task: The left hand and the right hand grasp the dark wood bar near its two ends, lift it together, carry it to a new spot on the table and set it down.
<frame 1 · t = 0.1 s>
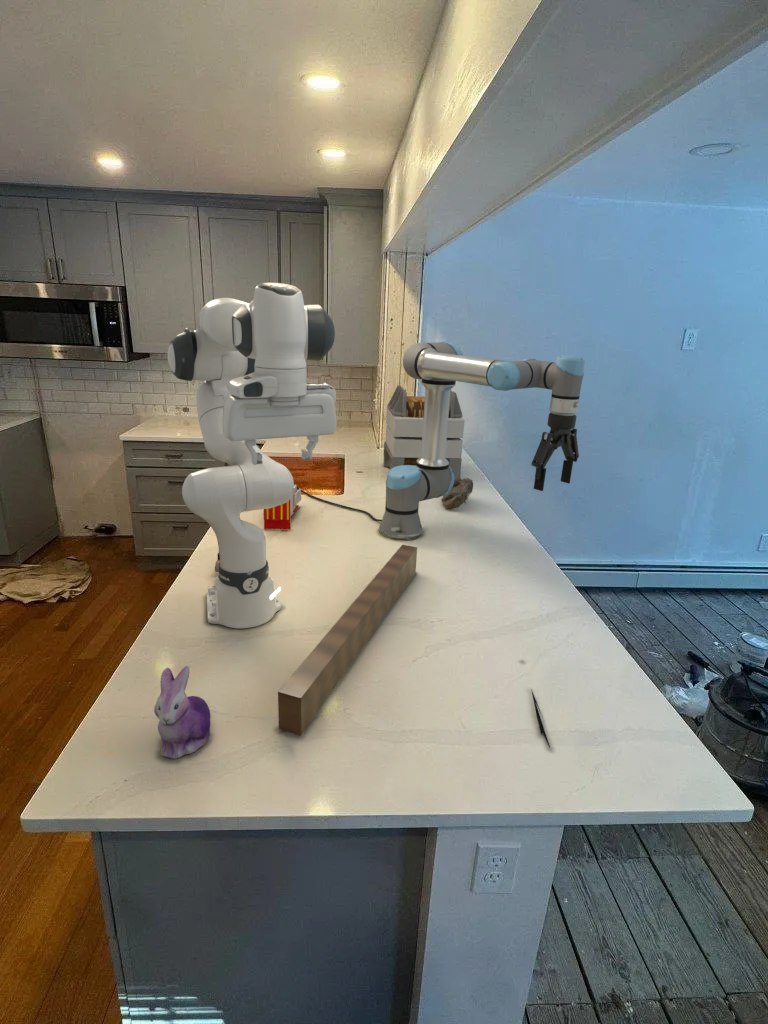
left hand: (282, 461, 103), 48 cm above the counter, tool pointing down, fingers open, 8 cm apart
right hand: (552, 486, 166), 28 cm above the counter, tool pointing down, fingers open, 13 cm apart
figurine: (186, 742, 102), on the counter
fossil: (455, 503, 235), on the counter
figurine character: (232, 569, 168), on the counter
bar: (363, 632, 138), on the counter
feather: (533, 701, 117), on the counter
transformer: (419, 473, 275), on the counter
toy: (282, 516, 211), on the counter
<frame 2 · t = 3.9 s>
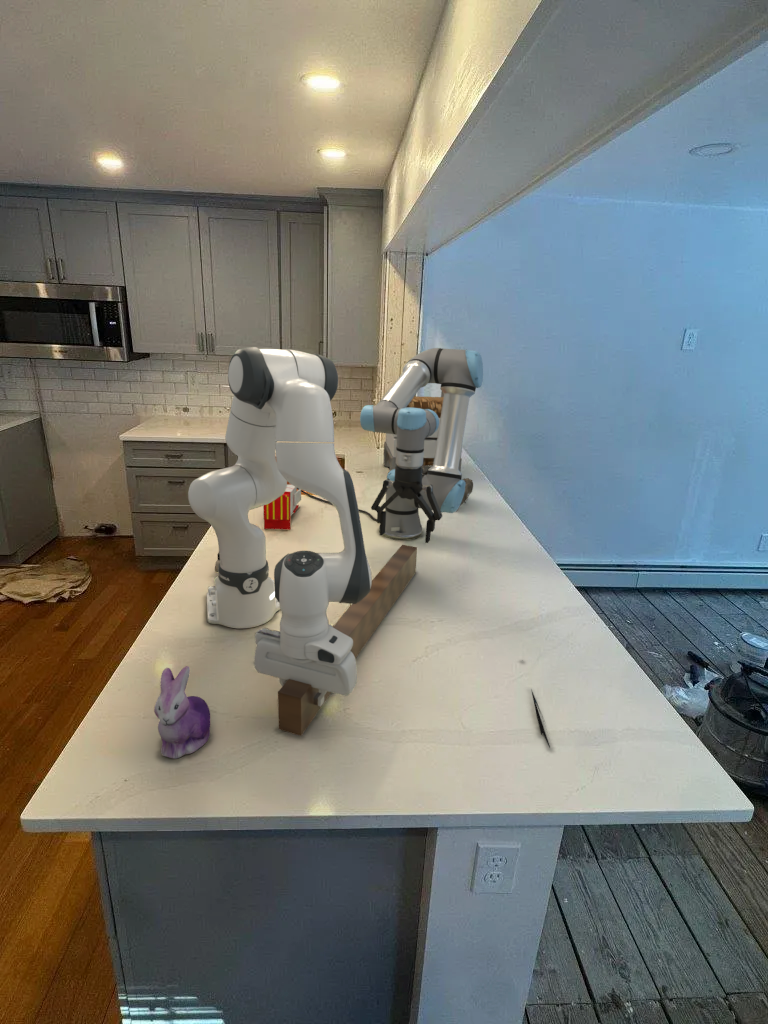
left hand: (304, 699, 109), 3 cm above the counter, tool pointing down, fingers closed on bar, 5 cm apart
right hand: (404, 537, 162), 13 cm above the counter, tool pointing down, fingers open, 13 cm apart
bar: (363, 632, 138), on the counter, touching left hand
everything else where it was.
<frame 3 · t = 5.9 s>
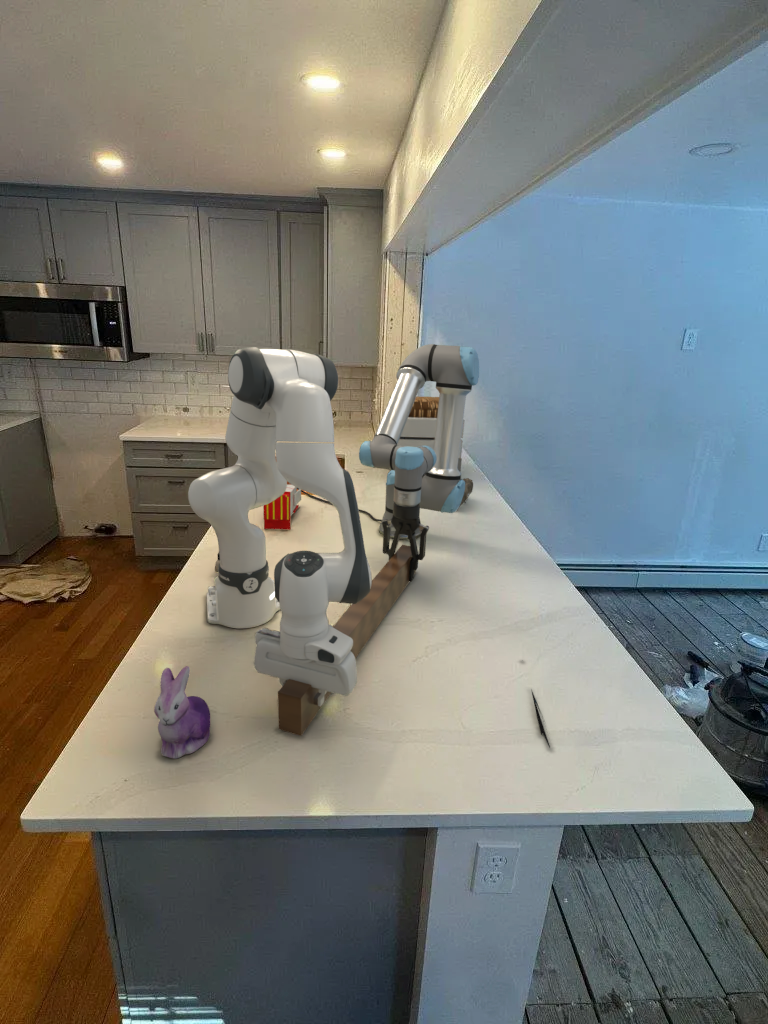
left hand: (304, 699, 109), 3 cm above the counter, tool pointing down, fingers closed on bar, 5 cm apart
right hand: (402, 577, 166), 1 cm above the counter, tool pointing down, fingers closed on bar, 5 cm apart
bar: (363, 632, 138), on the counter, touching right hand, left hand
everything else where it was.
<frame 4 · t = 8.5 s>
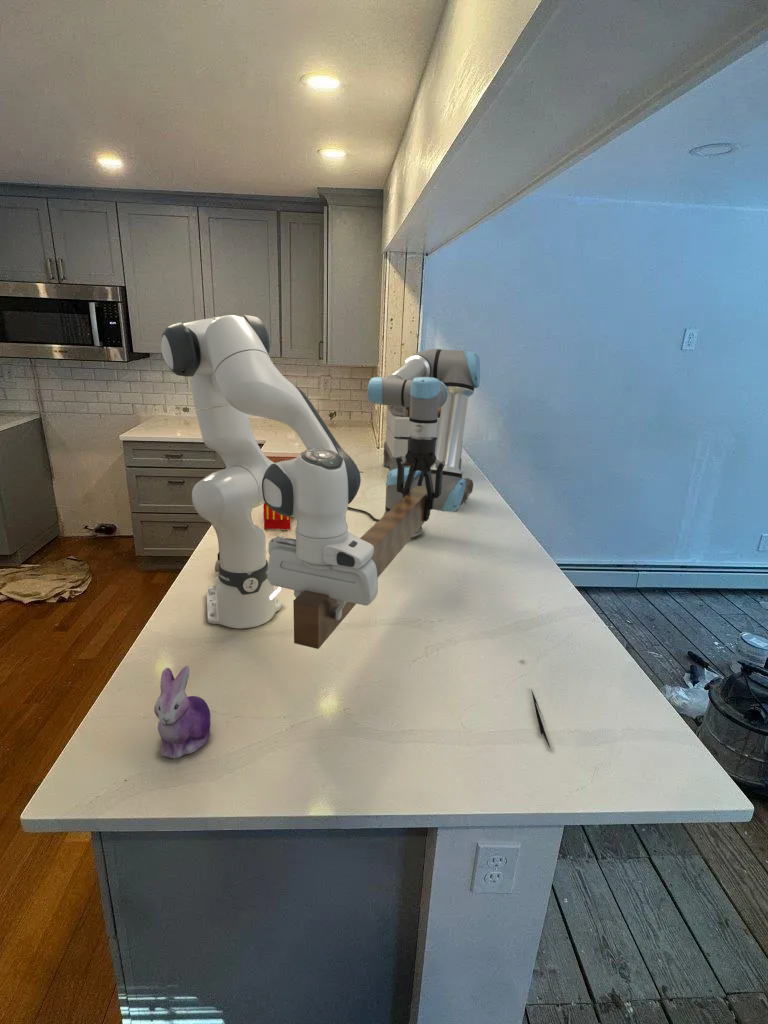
left hand: (321, 614, 102), 22 cm above the counter, tool pointing down, fingers closed on bar, 5 cm apart
right hand: (416, 518, 160), 20 cm above the counter, tool pointing down, fingers closed on bar, 5 cm apart
bar: (378, 563, 132), point 19 cm above the counter, touching right hand, left hand
everything else where it was.
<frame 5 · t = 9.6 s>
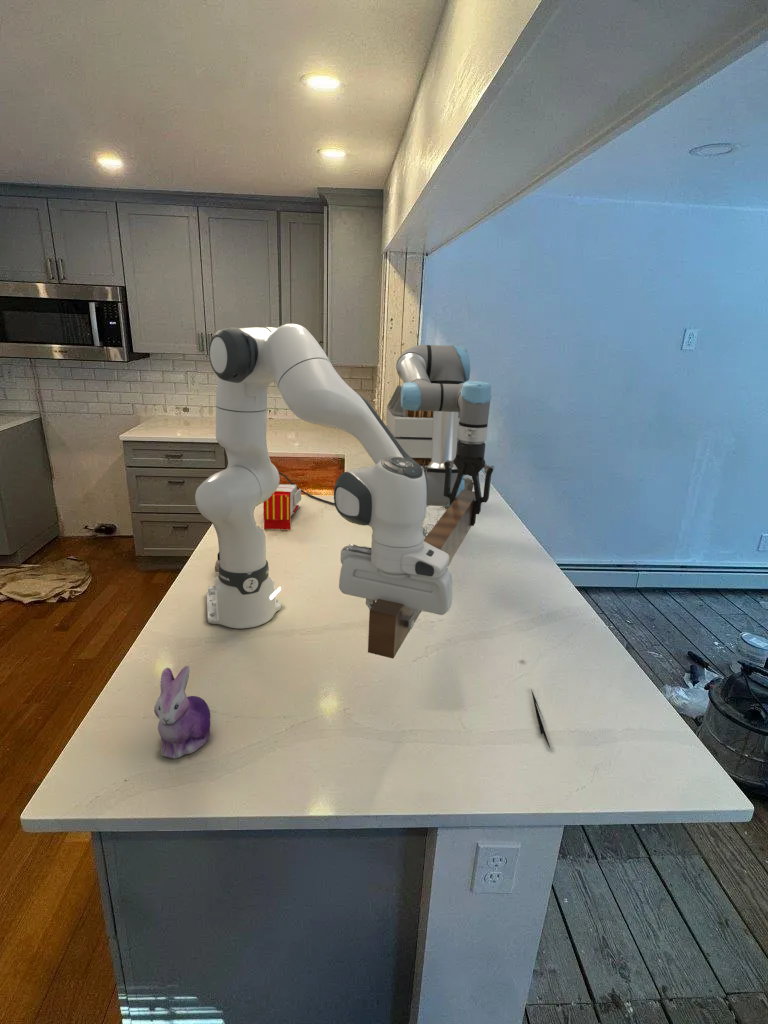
left hand: (392, 623, 102), 22 cm above the counter, tool pointing down, fingers closed on bar, 5 cm apart
right hand: (463, 522, 159), 19 cm above the counter, tool pointing down, fingers closed on bar, 5 cm apart
bar: (434, 569, 131), point 18 cm above the counter, touching right hand, left hand
everything else where it was.
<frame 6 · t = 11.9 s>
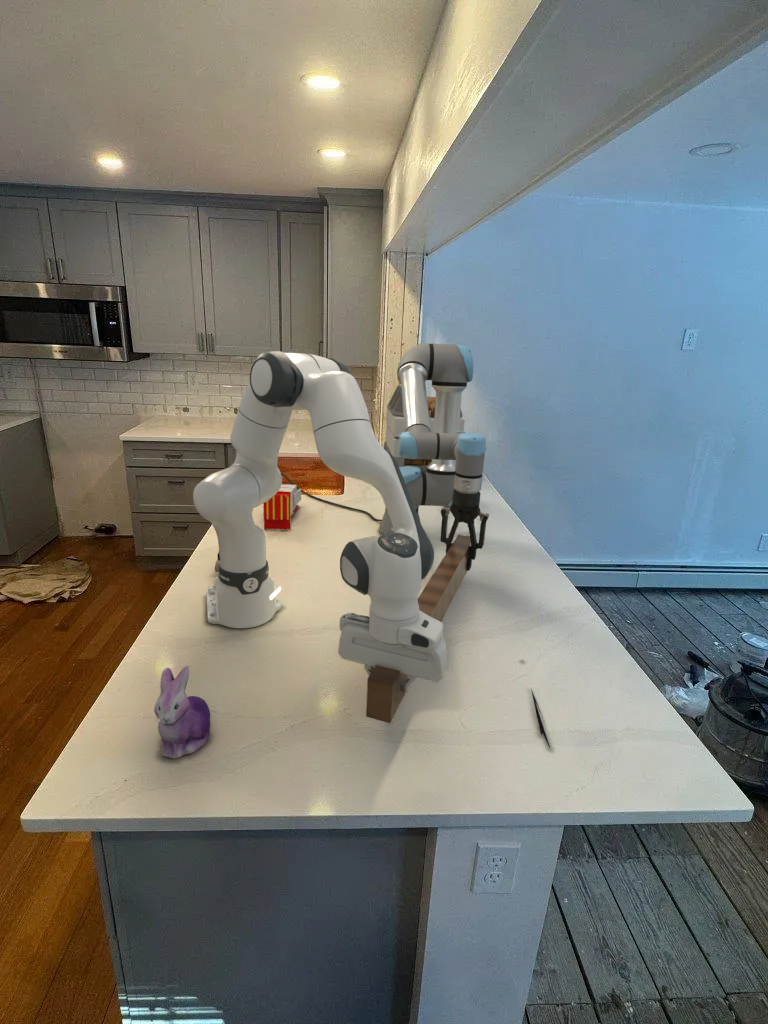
left hand: (389, 686, 106), 8 cm above the counter, tool pointing down, fingers closed on bar, 5 cm apart
right hand: (459, 567, 163), 5 cm above the counter, tool pointing down, fingers closed on bar, 5 cm apart
bar: (431, 621, 135), point 5 cm above the counter, touching right hand, left hand
everything else where it was.
when the right hand's fingers open (1 cm above the counter, at t = 13.1 s): bar stays where it is, on the counter.
when the left hand's fingers open (4 cm above the counter, at t = 13.3 s): bar stays where it is, on the counter.
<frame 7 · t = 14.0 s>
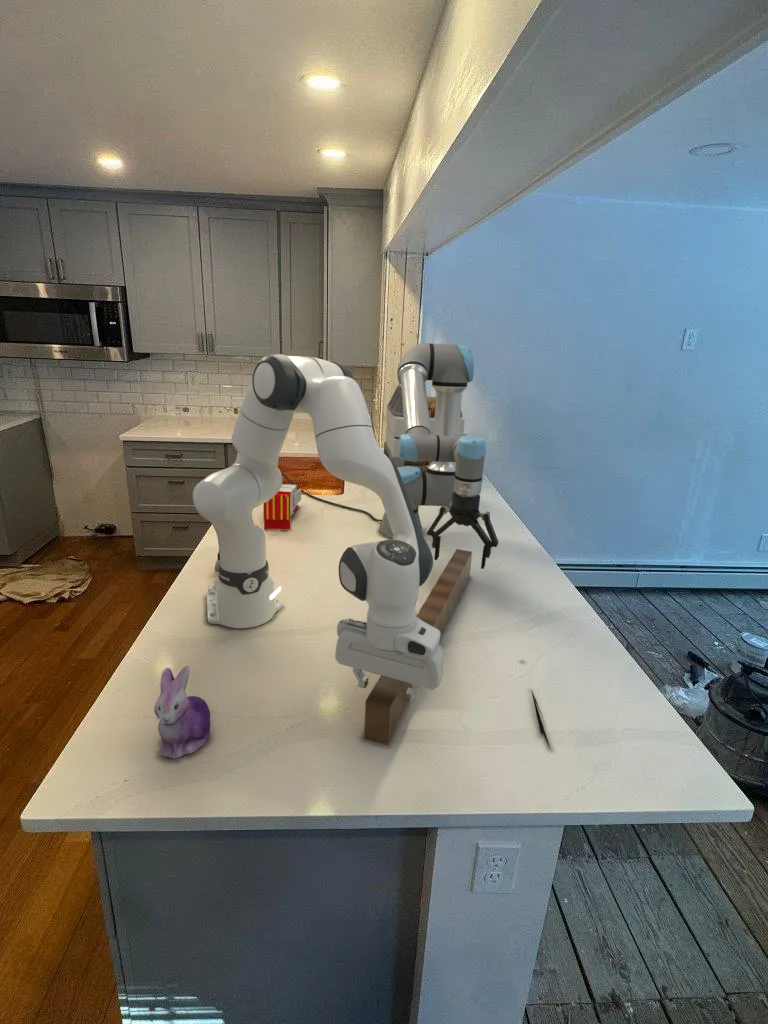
left hand: (386, 692, 107), 7 cm above the counter, tool pointing down, fingers open, 8 cm apart
right hand: (459, 562, 163), 7 cm above the counter, tool pointing down, fingers open, 13 cm apart
bar: (429, 638, 137), on the counter
everything else where it was.
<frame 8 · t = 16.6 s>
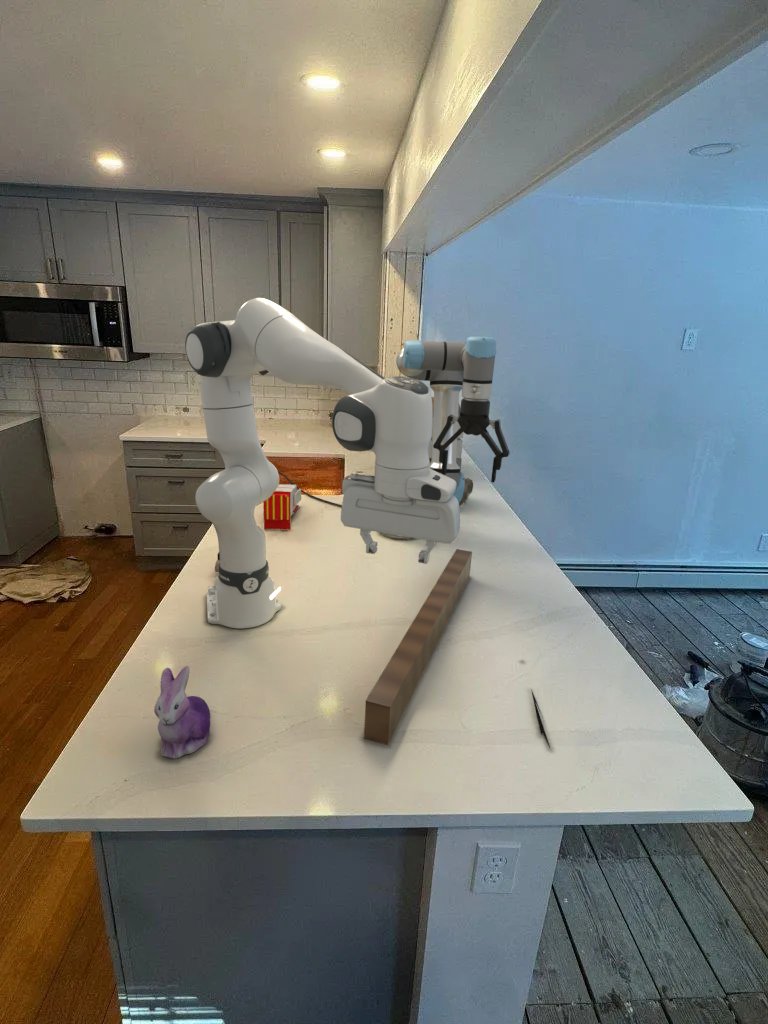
left hand: (397, 557, 97), 35 cm above the counter, tool pointing down, fingers open, 8 cm apart
right hand: (468, 477, 154), 32 cm above the counter, tool pointing down, fingers open, 13 cm apart
nothing on the counter moved.
at the end: bar inside the target area (0.1 cm from its centre), on the counter; bar tilted 0°; bar never tilted more than 1° during the clip; both hands held the bar at the same time; the left hand is holding nothing; the right hand is holding nothing; bar at rest at the end (0.0 cm/s) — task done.
